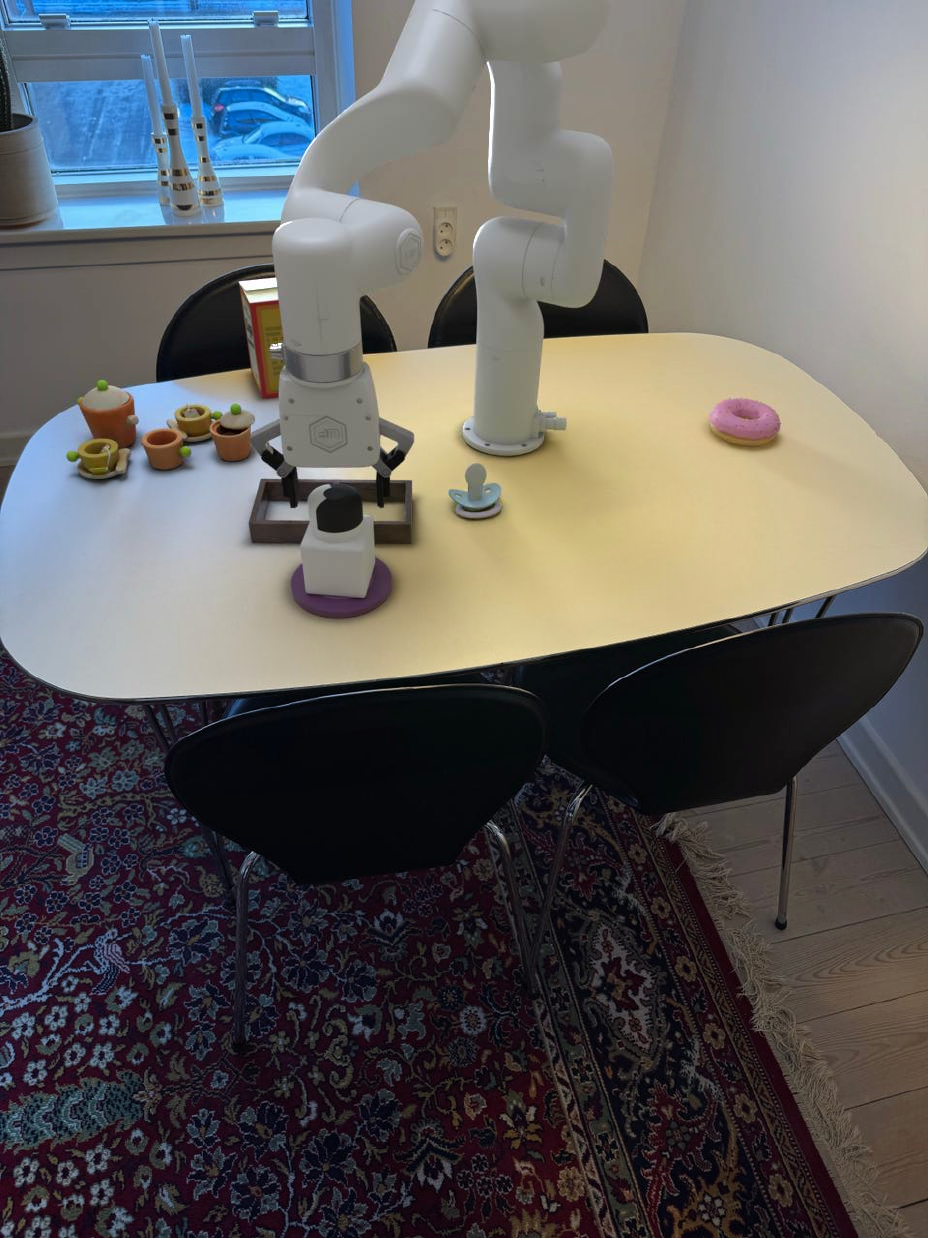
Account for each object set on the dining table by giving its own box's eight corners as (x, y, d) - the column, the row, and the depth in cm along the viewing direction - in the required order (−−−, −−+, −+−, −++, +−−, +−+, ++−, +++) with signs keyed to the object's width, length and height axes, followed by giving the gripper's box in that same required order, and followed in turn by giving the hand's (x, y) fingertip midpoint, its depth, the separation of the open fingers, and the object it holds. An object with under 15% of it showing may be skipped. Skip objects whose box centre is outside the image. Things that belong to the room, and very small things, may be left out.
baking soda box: (302, 393, 141) (292, 296, 130) (262, 398, 139) (249, 300, 128) (289, 369, 147) (279, 274, 137) (251, 374, 145) (238, 278, 135)
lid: (393, 556, 108) (393, 549, 107) (390, 618, 99) (390, 611, 98) (297, 555, 107) (296, 548, 106) (285, 618, 98) (284, 611, 97)
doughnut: (700, 441, 133) (706, 416, 130) (712, 410, 140) (718, 387, 138) (772, 456, 130) (779, 431, 127) (780, 424, 137) (787, 400, 135)
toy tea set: (70, 487, 117) (50, 424, 111) (76, 433, 128) (58, 373, 122) (263, 465, 123) (254, 404, 117) (252, 415, 134) (244, 356, 128)
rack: (412, 498, 118) (412, 479, 116) (411, 543, 110) (411, 524, 108) (263, 497, 117) (260, 478, 115) (251, 542, 109) (248, 523, 107)
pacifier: (509, 517, 115) (494, 492, 120) (512, 477, 111) (497, 453, 115) (457, 525, 114) (444, 499, 118) (459, 485, 109) (445, 461, 114)
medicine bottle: (375, 562, 105) (371, 478, 97) (365, 599, 99) (360, 513, 92) (318, 558, 105) (310, 473, 97) (305, 594, 100) (294, 508, 92)
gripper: (229, 373, 81) (255, 521, 93) (411, 374, 82) (415, 520, 93) (242, 340, 87) (265, 482, 98) (412, 340, 87) (415, 482, 99)
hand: (338, 501), depth 96 cm, fingers open, 9 cm apart
